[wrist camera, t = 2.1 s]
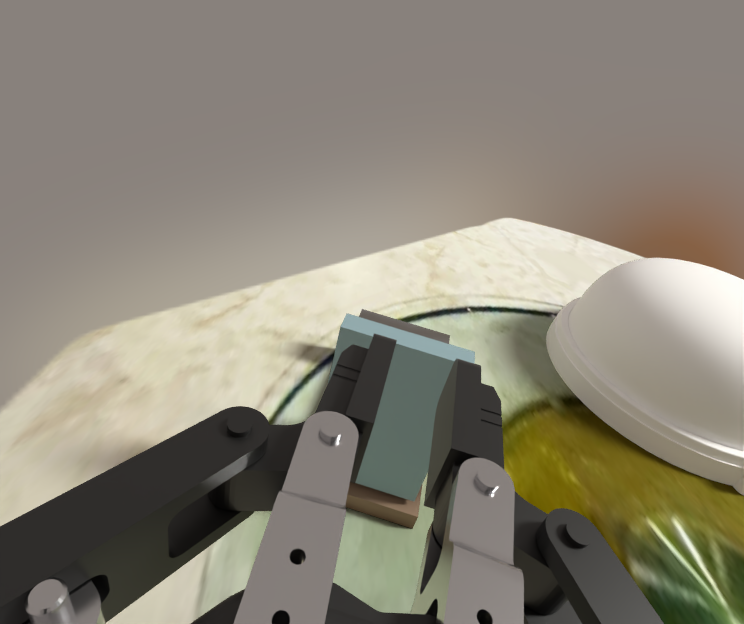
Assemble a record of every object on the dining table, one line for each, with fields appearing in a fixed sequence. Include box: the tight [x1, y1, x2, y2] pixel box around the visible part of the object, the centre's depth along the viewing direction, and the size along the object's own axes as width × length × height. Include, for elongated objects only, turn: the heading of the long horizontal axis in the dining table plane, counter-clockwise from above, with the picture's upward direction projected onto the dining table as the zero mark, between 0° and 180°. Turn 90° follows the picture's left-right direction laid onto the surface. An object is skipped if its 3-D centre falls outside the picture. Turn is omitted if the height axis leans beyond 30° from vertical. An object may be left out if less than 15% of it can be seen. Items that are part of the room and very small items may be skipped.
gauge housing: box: [345, 309, 450, 528], centre depth 41 cm, size 18×9×6 cm, turn 168°
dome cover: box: [546, 258, 744, 496], centre depth 54 cm, size 32×30×14 cm
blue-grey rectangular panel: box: [328, 314, 475, 501], centre depth 32 cm, size 4×8×13 cm, turn 78°
